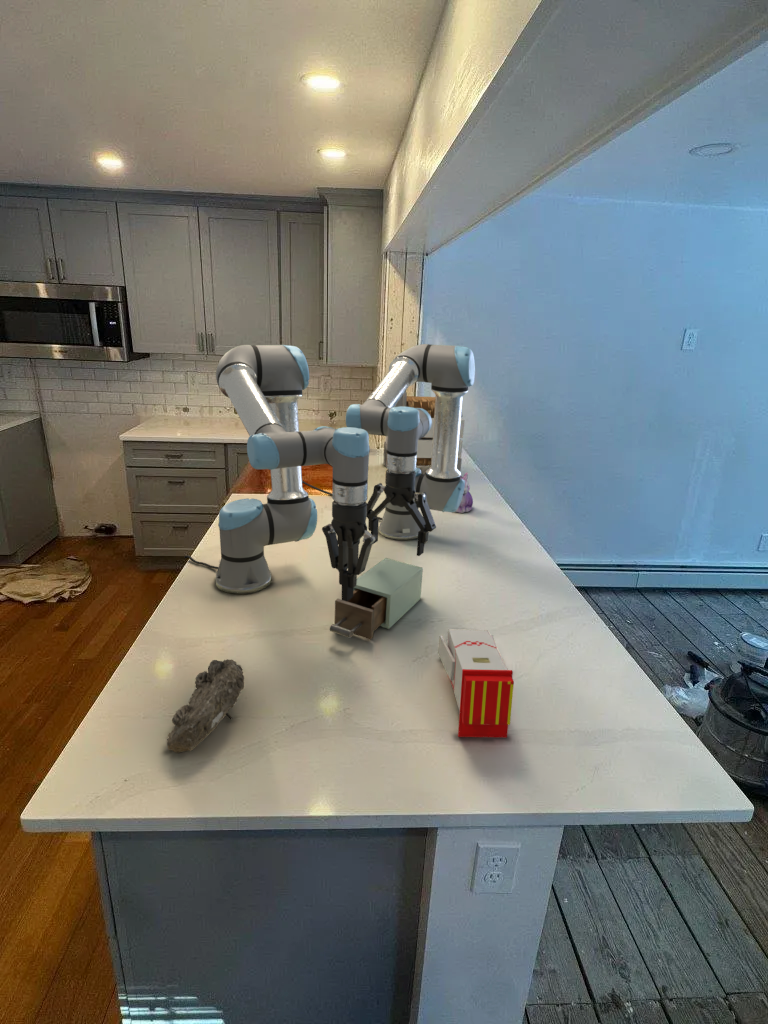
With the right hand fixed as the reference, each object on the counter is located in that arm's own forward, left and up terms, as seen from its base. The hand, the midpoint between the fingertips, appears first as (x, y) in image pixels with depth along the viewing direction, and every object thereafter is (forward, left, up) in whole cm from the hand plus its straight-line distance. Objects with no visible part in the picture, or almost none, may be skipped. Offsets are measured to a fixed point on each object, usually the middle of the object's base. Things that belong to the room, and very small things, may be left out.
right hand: (396, 548), depth 149 cm
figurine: (-40, +72, -16) cm, 84 cm away
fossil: (+14, -58, -16) cm, 62 cm away
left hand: (+9, -23, -4) cm, 24 cm away
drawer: (+5, -15, -15) cm, 21 cm away
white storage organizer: (-88, +95, -16) cm, 130 cm away
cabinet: (+1, -4, -16) cm, 16 cm away
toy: (+39, -13, -16) cm, 44 cm away
